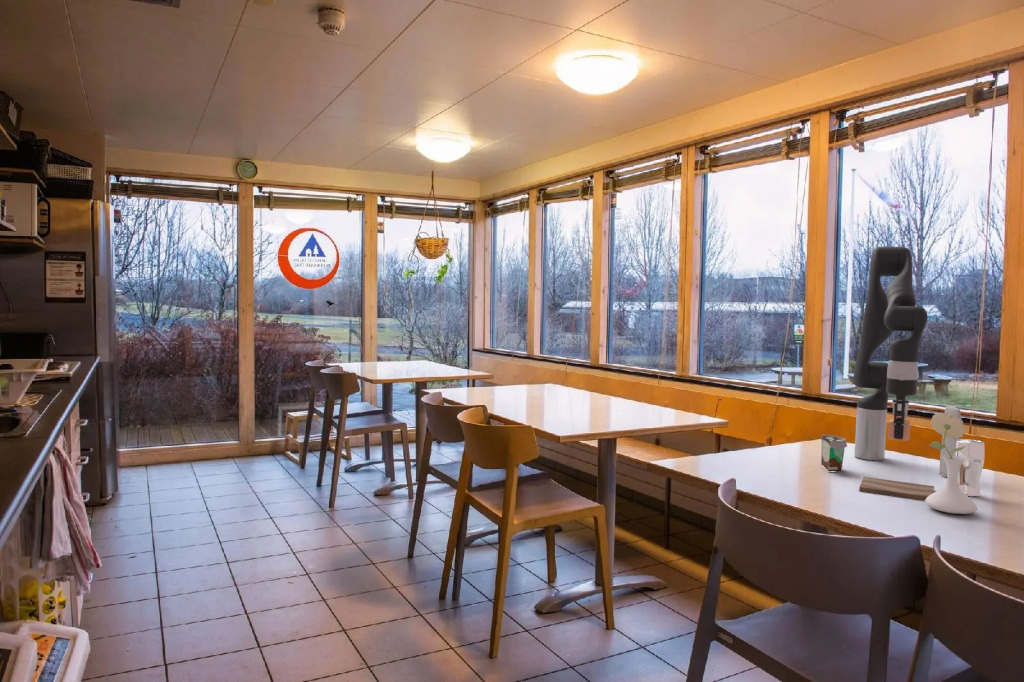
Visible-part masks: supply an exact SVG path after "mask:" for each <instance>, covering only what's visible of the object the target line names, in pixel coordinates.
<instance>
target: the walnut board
mask: <svg viewBox="0 0 1024 682" xmlns="http://www.w3.org/2000/svg"><path fill="white" fill-rule="evenodd" d="M858 488H859V489H858V491H859V492H863V491H866V492H865V493H869V492H873V493H872V494H876V493H879V495H883V494H886V495H885V496H890V495H893V496H892V497H897V496H899V497H898V498H904V497H906V499H911V498H912V499H913V500H918V499H919V500H920V501H925V500H926V498H927V497H928V496H929V495H931V494H933V493H934V492H935V486H934V485H929V484H921V483H920V484H919V483H913V482H905V481H897V480H890V479H883V478H877V477H876V478H875V477H868V476H863V477H862V480H861V483H860V485H859V487H858Z"/></svg>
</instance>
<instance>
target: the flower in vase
mask: <svg viewBox="0 0 1024 682" xmlns="http://www.w3.org/2000/svg"><path fill="white" fill-rule="evenodd" d="M929 423H930V425H931V426H932V429H934V431H935V432H936V433H938V435H941V436H942V435H944V438H943V444H944V445H943V444H942V442H939V441H938V440H935V441H932V442H931V443H930V444H928V447H930V448H933V449H936V450H938V451H941V450H942V449H943V448H944V447H945V449H946V450H947V452H948V454H949V455H950V456H942V458H943V459H944V461H945V462H946V465H947V478H946V479H947V480H946V483H945V485H944V486H943V487H942V488H940V489H939V490H936V491H934V493H933V494H931V495H929V496H928V497H927V498H926V500H924V502H925V504H926V505H927V506H928V507H930V508H932V509H934V510H935V511H936V510H937V511H940V512H943V513H948V514H955V515H957V514H958V515H968V514H973V513H976V512H977V511H978V506H977V504H976V503H975V502H974V501H973V500H972V498H971V497H968V496H967V495H965V494H964V493H963V492H962V491H961V490H960V489H959V487H958V472H959V468H960V466H961V464H962V463H963V462H964V461H965V459H964V458H961V457H955V456H951V454H950V453H951V452H957V451H960V450H962V449H963V448H964V447H965V446H964V447H960V448H956V449H954V450H952V451H951V452H949V451H948V449H947V447H946V445H945V437H949V438H954V437H955V438H958V437H960V438H962V437H964V434H965V432H966V431H967V429H966V426H965V425H964V421H963V420H962V421H960V418H956V417H954V415H953V414H950V415H949V414H948V413H943V412H940V413H935V414H934V415H932V418H931V420H930V422H929Z"/></svg>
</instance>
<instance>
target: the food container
mask: <svg viewBox="0 0 1024 682" xmlns="http://www.w3.org/2000/svg"><path fill="white" fill-rule="evenodd" d="M820 440H821V450H820V451H821V455H820V457H821V458H820V460H821V461H820V466H821V465H823V466H824V467H825V468H826V469H827V470H828V471H840V472H842V471H843V470H842V469H843V464H844V463H843V462H844V455H845V448H847V447H848V444H847V440H846V438H844V437H842V436H838V435H833V434H832V435H831V434H824V433H823V434H821V439H820ZM827 470H826V471H827ZM841 470H842V471H841ZM828 471H827V472H828Z"/></svg>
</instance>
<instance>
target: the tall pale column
mask: <svg viewBox="0 0 1024 682" xmlns="http://www.w3.org/2000/svg"><path fill="white" fill-rule="evenodd" d="M944 413H948V414H949V415H950V414H953V415H954V417H956V418H960V421H963V419H962V416H961V415H962V414H961V413H962V412H961V409H960V408H957V407H956V406H954V405H949V406H947V405H946V406H945V409H944ZM941 436H942V438H941V443H942V444H943V438H944V435H941ZM957 439H961V437H958V438H955V437H954V438H949V437H945V445H946V447H947V449H948V451H949V452H951V451H952V450H954V449H955V447H956V441H957ZM943 445H944V444H943ZM950 454H951V456H955V452H951V453H950ZM939 455H940V457H939V458H940V459H939V469H938V470H939V471H938V472H939V473H938V474H939V475H940V476H941V477H943V478H946V477H947V465H946V462H945V461H944V459H943V458H942V456H950V455H949V454H948V452H947V450H946V449H945V447H944V448H943V449H942V450H940V453H939Z"/></svg>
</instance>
